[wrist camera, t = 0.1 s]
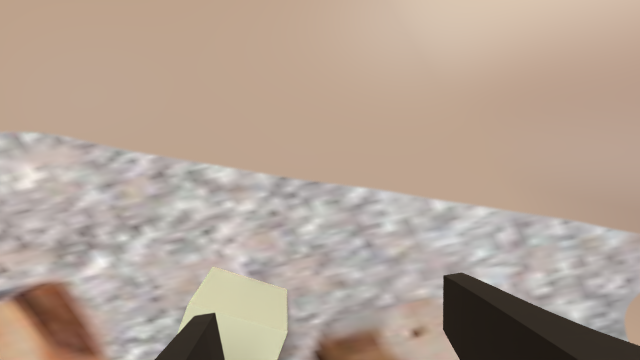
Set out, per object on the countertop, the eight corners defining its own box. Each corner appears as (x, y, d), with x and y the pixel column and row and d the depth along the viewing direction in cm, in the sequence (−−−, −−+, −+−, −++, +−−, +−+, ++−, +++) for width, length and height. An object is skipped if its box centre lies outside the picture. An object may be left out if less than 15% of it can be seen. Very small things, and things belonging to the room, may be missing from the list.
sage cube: (261, 358, 20) (253, 423, 15) (187, 338, 19) (153, 399, 14) (286, 288, 20) (287, 332, 15) (213, 266, 19) (188, 303, 14)
